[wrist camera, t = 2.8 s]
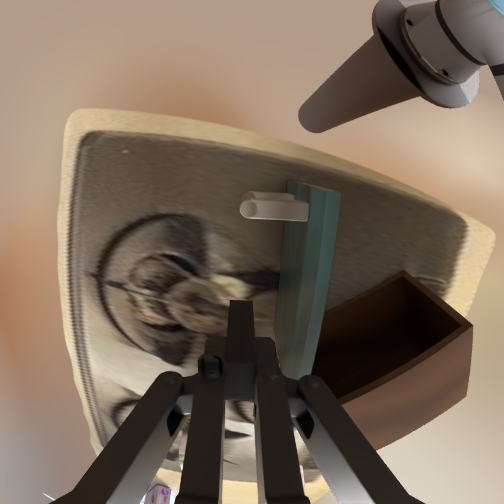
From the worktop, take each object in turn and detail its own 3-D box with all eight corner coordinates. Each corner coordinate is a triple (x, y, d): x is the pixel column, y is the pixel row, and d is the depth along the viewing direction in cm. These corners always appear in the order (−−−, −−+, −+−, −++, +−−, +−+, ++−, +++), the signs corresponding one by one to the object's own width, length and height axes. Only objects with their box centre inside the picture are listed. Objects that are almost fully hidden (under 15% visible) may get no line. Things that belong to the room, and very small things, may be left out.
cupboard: (279, 333, 37) (297, 422, 22) (403, 269, 35) (473, 324, 20) (312, 390, 41) (334, 467, 26) (417, 336, 39) (466, 396, 24)
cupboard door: (236, 328, 37) (232, 418, 22) (242, 176, 31) (240, 184, 16) (281, 330, 37) (299, 417, 22) (295, 180, 31) (341, 192, 16)
